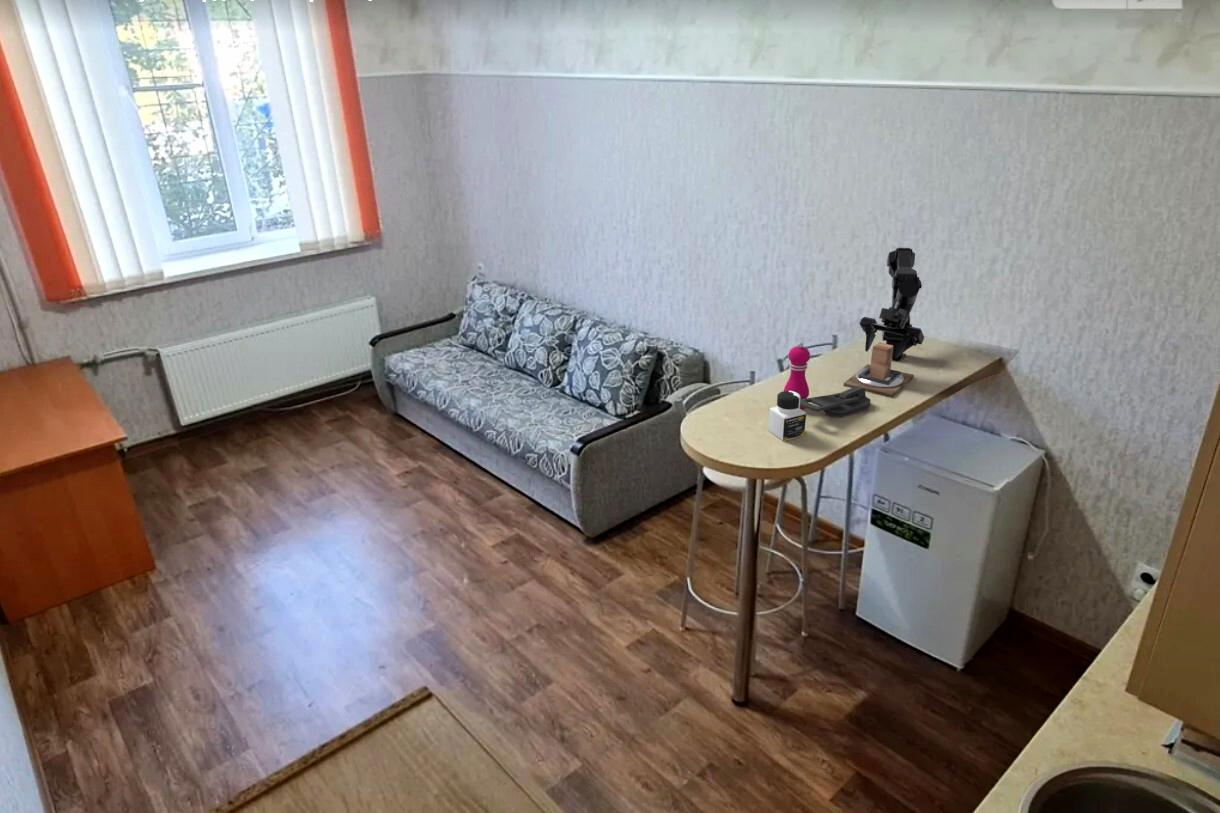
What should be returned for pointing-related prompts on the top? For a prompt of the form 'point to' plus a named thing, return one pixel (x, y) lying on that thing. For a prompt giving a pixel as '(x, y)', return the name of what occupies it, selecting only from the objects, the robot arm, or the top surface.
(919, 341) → the robot arm
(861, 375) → the rosette plate
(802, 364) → the pepper mill
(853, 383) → the walnut board
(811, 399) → the zipper pull
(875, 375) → the tan wooden block
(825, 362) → the top surface
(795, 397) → the medicine bottle
